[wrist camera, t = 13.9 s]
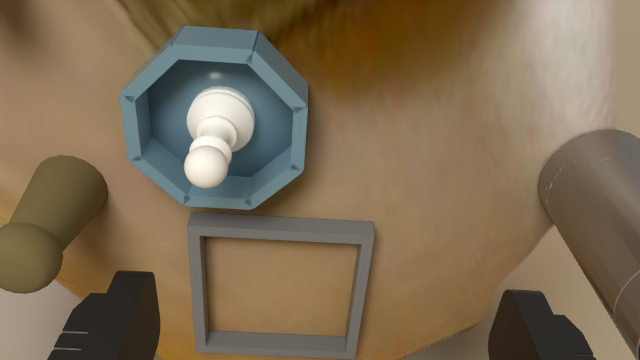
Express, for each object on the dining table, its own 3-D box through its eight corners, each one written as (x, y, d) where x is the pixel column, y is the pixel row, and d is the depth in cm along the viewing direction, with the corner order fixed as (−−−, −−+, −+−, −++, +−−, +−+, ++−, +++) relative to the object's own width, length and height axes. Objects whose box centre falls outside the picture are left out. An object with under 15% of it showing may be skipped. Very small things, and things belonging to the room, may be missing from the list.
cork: (118, 176, 46) (68, 264, 37) (93, 225, 49) (41, 318, 40) (47, 142, 44) (-24, 226, 35) (25, 195, 47) (-46, 285, 38)
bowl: (311, 34, 40) (311, 53, 36) (301, 184, 47) (300, 212, 43) (129, 21, 39) (111, 39, 36) (147, 175, 46) (133, 203, 43)
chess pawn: (214, 153, 44) (193, 221, 36) (177, 103, 42) (145, 164, 34) (268, 126, 43) (257, 191, 35) (232, 73, 40) (213, 129, 33)
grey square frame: (372, 221, 49) (374, 236, 47) (353, 343, 57) (354, 359, 56) (191, 211, 48) (186, 225, 46) (199, 336, 57) (195, 352, 55)
